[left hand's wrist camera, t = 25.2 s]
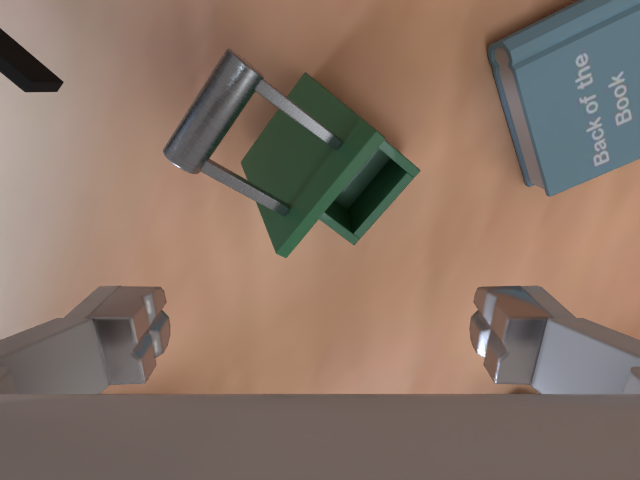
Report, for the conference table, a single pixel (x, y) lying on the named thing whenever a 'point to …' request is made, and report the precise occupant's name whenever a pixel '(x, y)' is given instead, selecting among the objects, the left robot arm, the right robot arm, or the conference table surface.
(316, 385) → the conference table surface
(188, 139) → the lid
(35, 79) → the right robot arm
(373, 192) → the chest
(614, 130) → the book
